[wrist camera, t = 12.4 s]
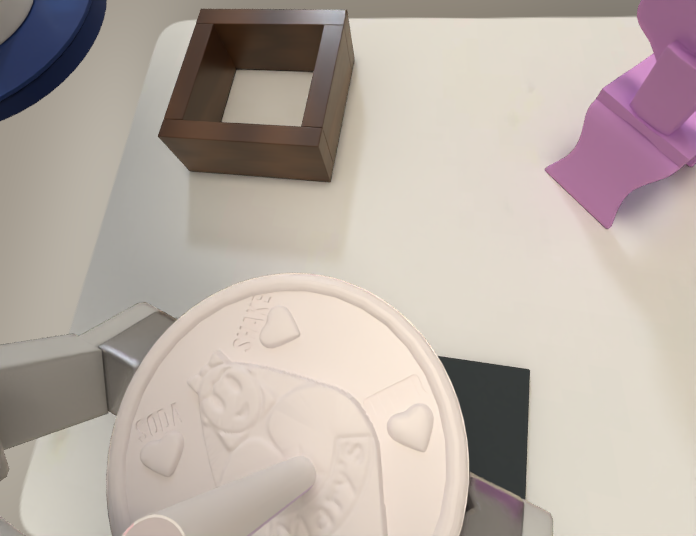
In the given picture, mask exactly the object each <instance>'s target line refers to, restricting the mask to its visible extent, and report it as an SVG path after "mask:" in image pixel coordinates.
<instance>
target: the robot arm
mask: <svg viewBox="0 0 696 536" xmlns="http://www.w3.org/2000/svg"><path fill="white" fill-rule="evenodd" d="M32 4H33V0H0V44H2V43H3V42H4V41H5V40H7V39H8V38H9V37H10V36H11V35H12V34H13V33H14V32H15V31H16V30H17V29H18V28H19V26H20V25H21V24H22V23H23V21H24V20H25V18H26V17H27V15H28V13H29V11H30V9H31V7H32ZM176 320H177V319H176V318H174V317H172V316H170V315H169V314H167V313H165V312H163V311H161V310H159V309H157V308H155V307H154V306H152V305H150V304H148V303H146V302H144V303H137V304H135V305H134V306H132V307H130V308H128V309H126V310H125V311H123V312H121V313H119V314H117V315H116V316H114V317H112V318H110V319H108V320H107V321H105V322H103V323H101V324H99V325H98V326H96V327H94V328H92V329H91V330H89V331H87V332H85V333H83V334H82V335H80V336H77V335H75V334H67V335H60V336H54V337H47V338H41V339H34V340H27V341H21V342H14V343H8V344H1V345H0V481H1V480H3V479H4V478H5V477H7V474H8V471H9V467H8V463H7V460H6V457H5V454H4V450H5V449H8V448H11V447H14V446H17V445H20V444H22V443H25V442H28V441H31V440H34V439H37V438H40V437H42V436H45V435H48V434H51V433H54V432H57V431H59V430H62V429H65V428H68V427H71V426H74V425H77V424H79V423H82V422H85V421H88V420H91V419H94V418H96V417H99V416H102V415H105V414H107V413H108V411H109V412H111V413H112V414H114V415H116V416H117V413H118V410H119V407H120V404H121V402H122V399H123V397H124V395H125V392H126V390H127V388H128V385H129V383H130V382H131V380H132V378H133V376H134V374H135V372H136V371H137V369H138V368H139V366H140V364H141V362H142V361H143V359H144V358H145V356H146V355H147V353H148V352H149V351H150V349H151V348H152V347H153V345H154V344H155V343H156V341H157V340H158V339H159V338H160V337H161V336H162V335H163V333H164V332H165V331H166V330H167V329H168V328H169V327H170V326H171V325H172V324H173V323H174V322H175V321H176ZM0 536H26V535H24V534H23V533H22V532H21V531H19V530H18V529H17V528H15V527H14V526H13V525H11V524H10V523H9V522H8V521H6V520H5V519H4V518H2V517H1V516H0ZM459 536H553V518H552V516H551V513H550V512H548V511H546V510H544V509H542V508H540V507H538V506H536V505H534V504H532V503H530V502H528V501H526V500H524V499H521V498H520V497H519V496H517V495H515V494H513V493H511V492H509V491H507V490H505V489H503V488H501V487H499V486H497V485H496V484H494V483H492V482H490V481H488V480H486V479H484V478H482V477H480V476H478V475H476V474H474V473H472V472H469V485H468V495H467V504H466V509H465V514H464V520H463V525H462V528H461V531H460V535H459Z"/></svg>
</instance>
